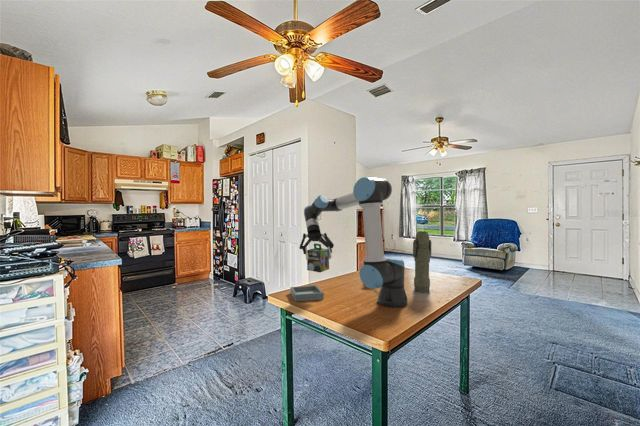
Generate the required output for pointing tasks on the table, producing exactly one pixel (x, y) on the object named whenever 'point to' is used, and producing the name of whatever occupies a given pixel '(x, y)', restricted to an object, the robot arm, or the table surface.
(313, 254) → the chalk box
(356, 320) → the table surface
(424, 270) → the green stone statue
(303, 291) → the tray
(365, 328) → the table surface
